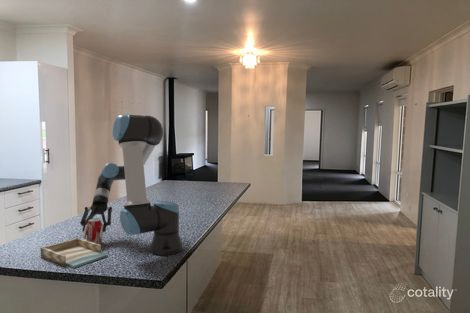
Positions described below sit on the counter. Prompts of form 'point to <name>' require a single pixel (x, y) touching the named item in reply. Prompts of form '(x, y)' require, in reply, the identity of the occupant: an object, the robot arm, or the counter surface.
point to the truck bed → (73, 252)
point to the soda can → (94, 230)
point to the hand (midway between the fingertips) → (92, 237)
